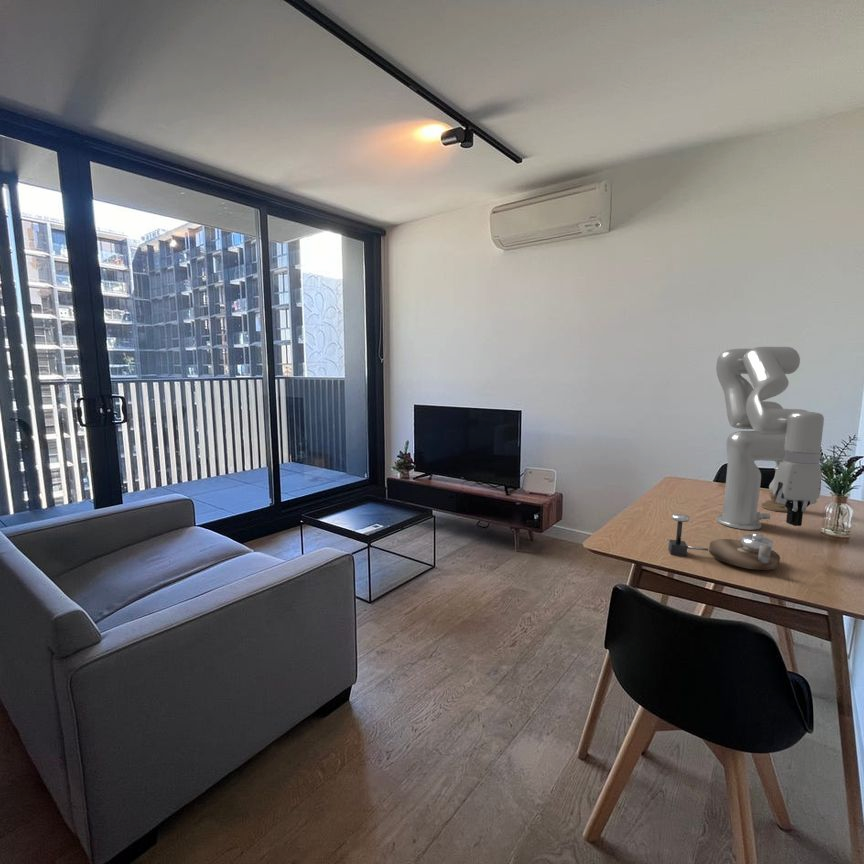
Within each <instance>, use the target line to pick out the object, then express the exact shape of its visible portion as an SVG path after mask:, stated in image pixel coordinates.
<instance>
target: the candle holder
mask: <svg viewBox="0 0 864 864" xmlns="http://www.w3.org/2000/svg"><path fill="white" fill-rule="evenodd" d="M774 462H775V465H776V466H775V467H774V468H773V469H774V471H775V473H774V477H773V479H772V480H771V482H770V483H769V485H768V488H769V491H770V493H769V495H768V496H770V500H769V499H768V500H765V501H764V502H762V503H761V508H763V509H765V510H769V511H773V512H779V513H787V509H786V508H785V506H784V504H780V503H777V502H776V498H777V496H774V495H773V486H774V480H775V476H776V472H777V468H778V466H779V463H780V462H783V460H782V461H774Z"/></svg>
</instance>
